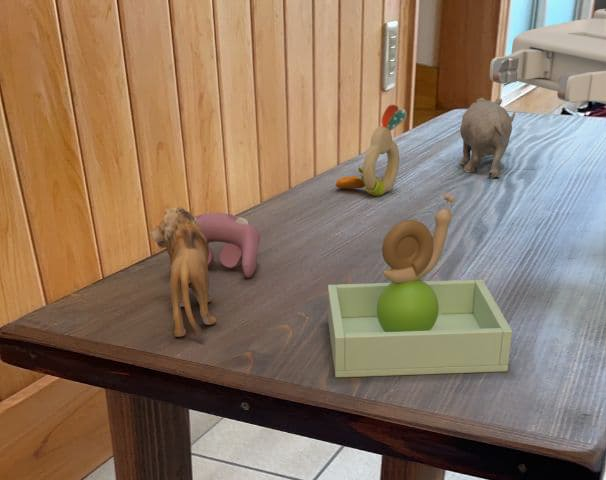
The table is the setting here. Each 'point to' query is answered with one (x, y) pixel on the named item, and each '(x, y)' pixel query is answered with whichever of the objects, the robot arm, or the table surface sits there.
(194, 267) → the lion figurine
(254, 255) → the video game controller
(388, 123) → the rattle
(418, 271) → the snail figurine
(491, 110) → the rhinoceros figurine
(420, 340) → the tray
